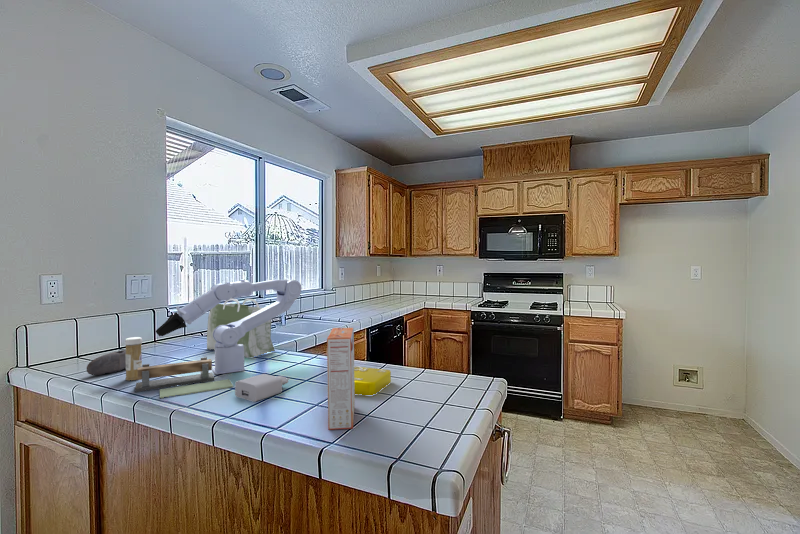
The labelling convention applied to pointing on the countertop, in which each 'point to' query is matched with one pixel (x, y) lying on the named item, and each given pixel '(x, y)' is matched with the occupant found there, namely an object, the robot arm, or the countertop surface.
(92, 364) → the perforated stone tool
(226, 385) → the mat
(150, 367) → the rail
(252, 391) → the charger
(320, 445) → the countertop surface
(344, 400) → the cracker box
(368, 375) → the element tile
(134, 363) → the sprinkles bottle
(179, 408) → the countertop surface
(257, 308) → the grocery bag
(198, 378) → the rail rack
